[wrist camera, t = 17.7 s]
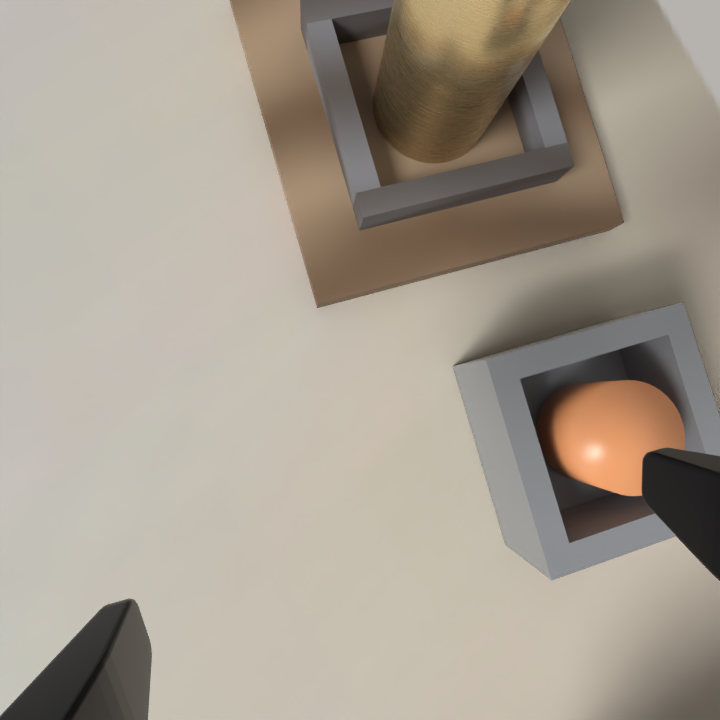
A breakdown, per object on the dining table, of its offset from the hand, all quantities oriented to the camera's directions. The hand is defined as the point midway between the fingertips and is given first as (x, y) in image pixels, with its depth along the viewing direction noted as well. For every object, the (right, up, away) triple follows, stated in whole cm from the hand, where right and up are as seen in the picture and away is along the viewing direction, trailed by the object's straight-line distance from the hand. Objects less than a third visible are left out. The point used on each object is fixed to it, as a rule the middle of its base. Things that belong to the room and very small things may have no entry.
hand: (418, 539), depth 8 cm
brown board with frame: (+2, +14, +14) cm, 20 cm away
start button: (+8, 0, +12) cm, 14 cm away
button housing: (+8, 0, +13) cm, 16 cm away
